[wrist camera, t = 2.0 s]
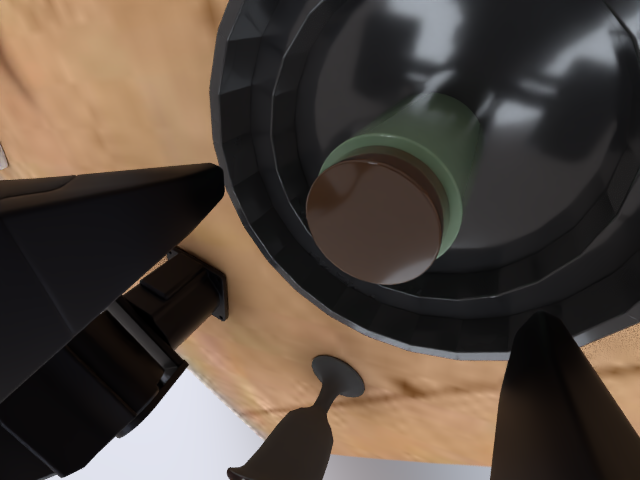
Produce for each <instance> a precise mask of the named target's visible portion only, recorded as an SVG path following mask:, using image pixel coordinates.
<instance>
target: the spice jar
mask: <svg viewBox="0 0 640 480" xmlns="http://www.w3.org/2000/svg"><path fill="white" fill-rule="evenodd" d="M484 152H485V140H484V134H483V130H482V127H481V125H480V123H479V121H478V119H477V118H476V116H475V115H474V113H473V112H472V111H471V110H470V109H469V108H468V107H467V106H466V105H464V104H463V103H462V102H460V101H459V100H457V99H455V98H453V97H450V96H448V95H445V94H440V93H431V92H428V93H419V94H414V95H411V96H408V97H406V98H404V99H402V100H400V101H398V102H397V103H395V104H394V105H392V106H391V107H390V108H388V109H387V110H386V111H384V112H383V113H382V114H380V115H379V116H378V117H376V118H375V119H374V120H372V121H371V122H370V123H368V124H367V125H366V126H364V127H363V128H361V129H360V130H359V131H357V132H356V133H355V134H353V135H352V136H351V137H349V138H348V139H347V140H345V141H344V142H343V143H341V144H340V145H339V146H337V147H336V148H335V149H334V150H333V151H332V152H331V153H330V154H329V156H328V157H327V158H326V160H325V161H324V163H323V165H322V167H321V169H320V172H319V175H318V177H317V178H316V179H315V181H314V182H313V184H312V186H311V188H310V190H309V193H308V197H307V201H306V218H307V223H308V226H309V230H310V232H311V235H312V237H313V239H314V241H315V242H316V244H317V246H318V247H319V249H320V250H321V251H322V253H323V254H324V255H325V256H326V257H327V258H328V259H329V260H330V261H331V262H332V263H333V264H334V265H336V266H337V267H338V268H339V269H341V270H342V271H344V272H345V273H347V274H349V275H351V276H353V277H355V278H357V279H360V280H363V281H366V282H370V283H374V284H382V285H393V284H400V283H404V282H408V281H410V280H413V279H415V278H417V277H418V276H420V275H422V274H423V273H424V272H425V271H427V270H428V269H429V268H430V266H431V265H432V264H433V263H434V261H435V260H436V259H437V258H439V257H440V256H441V255H443V254H444V253H445V252H446V251H447V250H448V249H449V248H450V247H451V245H452V244H453V242H454V241H455V239H456V237H457V235H458V233H459V231H460V228H461V225H462V222H463V219H464V216H465V213H466V210H467V207H468V204H469V201H470V198H471V195H472V192H473V189H474V186H475V183H476V180H477V177H478V174H479V171H480V168H481V165H482V161H483V158H484Z"/></svg>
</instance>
